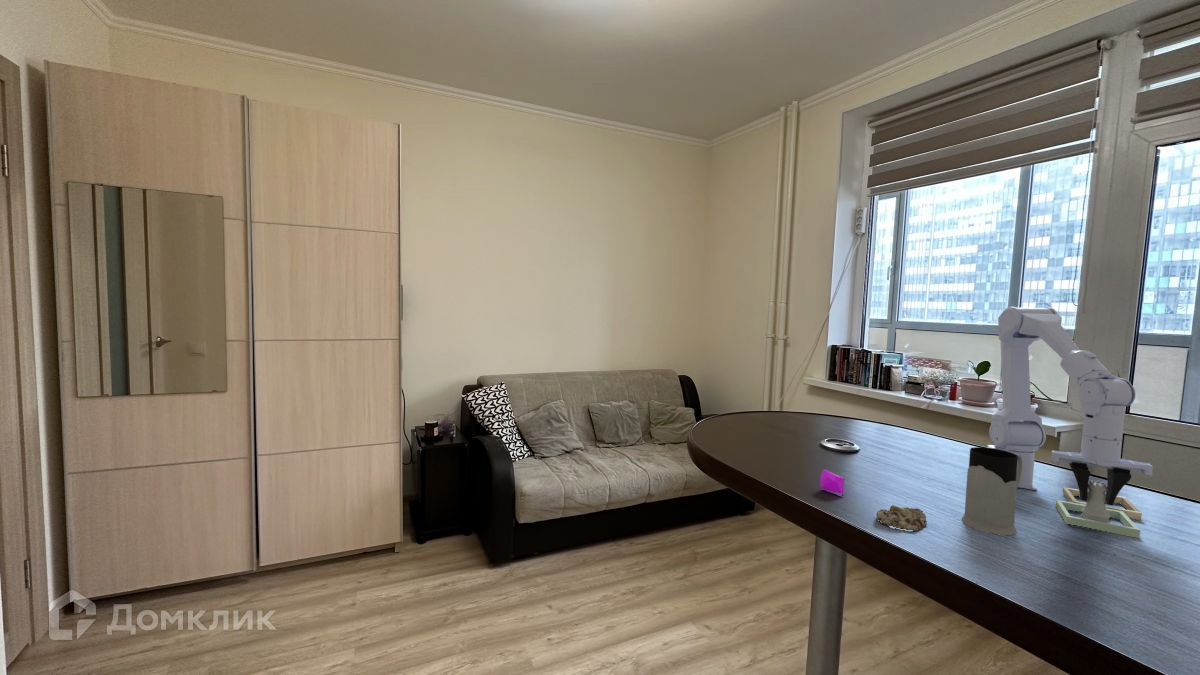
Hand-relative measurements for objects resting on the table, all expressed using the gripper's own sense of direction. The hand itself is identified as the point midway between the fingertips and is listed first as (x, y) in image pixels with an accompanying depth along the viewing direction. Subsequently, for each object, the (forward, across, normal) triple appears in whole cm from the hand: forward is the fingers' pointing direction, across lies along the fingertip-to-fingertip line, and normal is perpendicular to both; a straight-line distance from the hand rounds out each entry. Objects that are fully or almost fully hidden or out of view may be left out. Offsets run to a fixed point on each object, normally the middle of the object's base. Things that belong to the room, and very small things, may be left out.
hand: (1096, 501), depth 102 cm
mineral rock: (+5, -33, -24) cm, 41 cm away
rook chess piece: (+4, 0, 0) cm, 4 cm away
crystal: (+5, -47, -15) cm, 50 cm away
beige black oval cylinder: (+4, -17, -13) cm, 22 cm away
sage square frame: (+4, 0, 0) cm, 4 cm away
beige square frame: (+4, +3, +11) cm, 13 cm away
